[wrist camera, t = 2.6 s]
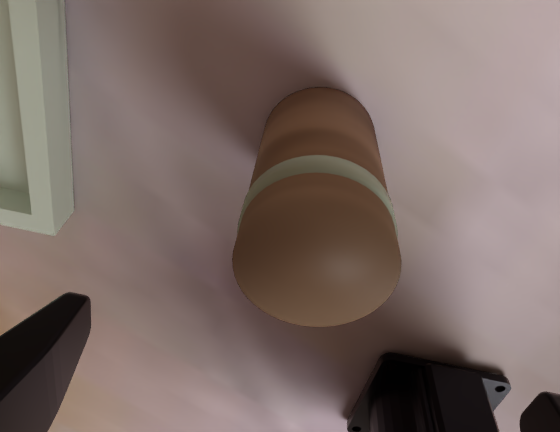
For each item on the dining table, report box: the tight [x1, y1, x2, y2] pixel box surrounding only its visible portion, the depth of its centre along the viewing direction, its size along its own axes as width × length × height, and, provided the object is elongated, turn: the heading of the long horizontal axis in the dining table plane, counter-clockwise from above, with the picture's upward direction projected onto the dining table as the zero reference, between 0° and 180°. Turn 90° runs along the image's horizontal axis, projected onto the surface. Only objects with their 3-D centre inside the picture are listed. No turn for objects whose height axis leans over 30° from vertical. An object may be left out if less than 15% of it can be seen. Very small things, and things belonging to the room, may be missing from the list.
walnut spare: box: [232, 87, 401, 327], centre depth 14 cm, size 4×4×7 cm
